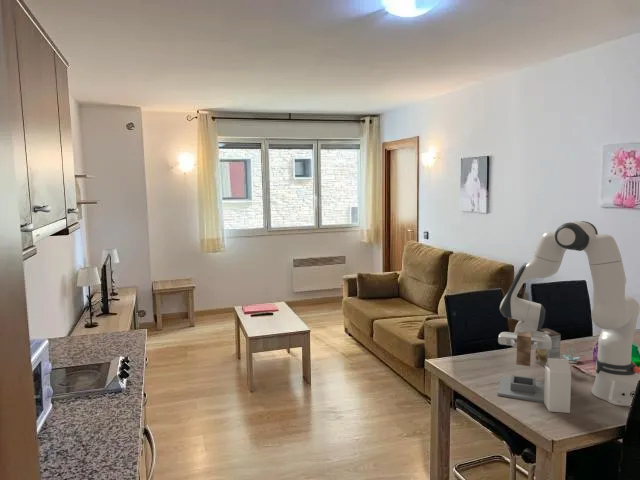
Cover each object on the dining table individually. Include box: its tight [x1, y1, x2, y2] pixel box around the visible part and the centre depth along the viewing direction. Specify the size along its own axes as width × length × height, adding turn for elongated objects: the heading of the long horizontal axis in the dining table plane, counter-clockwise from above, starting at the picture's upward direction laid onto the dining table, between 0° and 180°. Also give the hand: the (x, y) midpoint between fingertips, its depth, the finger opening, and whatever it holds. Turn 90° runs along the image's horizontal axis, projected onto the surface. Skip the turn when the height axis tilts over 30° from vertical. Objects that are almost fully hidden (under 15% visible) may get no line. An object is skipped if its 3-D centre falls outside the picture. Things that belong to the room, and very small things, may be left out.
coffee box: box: [534, 327, 562, 368], centre depth 215 cm, size 9×6×16 cm
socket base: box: [497, 374, 545, 403], centre depth 190 cm, size 18×18×4 cm
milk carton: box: [544, 358, 572, 414], centre depth 173 cm, size 7×7×19 cm
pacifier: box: [561, 347, 580, 364], centre depth 220 cm, size 7×6×6 cm
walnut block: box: [515, 332, 532, 367], centre depth 188 cm, size 5×5×12 cm
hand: (523, 346), depth 187 cm, fingers closed on walnut block, 5 cm apart
